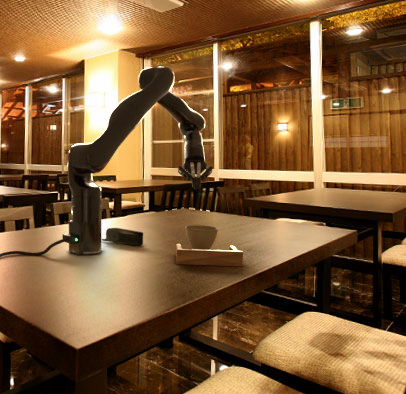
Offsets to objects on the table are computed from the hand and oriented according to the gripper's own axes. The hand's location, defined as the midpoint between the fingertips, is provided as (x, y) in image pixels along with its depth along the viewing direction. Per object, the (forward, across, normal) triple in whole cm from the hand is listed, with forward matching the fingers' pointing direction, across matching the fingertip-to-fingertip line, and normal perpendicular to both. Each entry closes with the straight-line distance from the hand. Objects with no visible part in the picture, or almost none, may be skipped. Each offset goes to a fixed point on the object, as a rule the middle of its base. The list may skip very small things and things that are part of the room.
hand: (196, 187), depth 140 cm
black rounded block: (+21, -26, +6) cm, 33 cm away
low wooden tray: (+35, 0, -9) cm, 36 cm away
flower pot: (+25, 0, +1) cm, 25 cm away
